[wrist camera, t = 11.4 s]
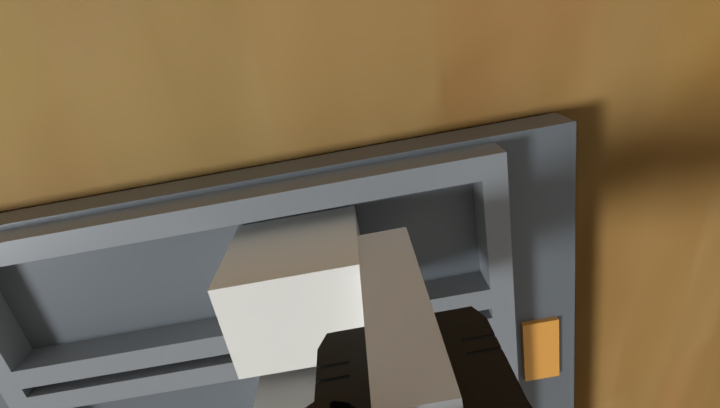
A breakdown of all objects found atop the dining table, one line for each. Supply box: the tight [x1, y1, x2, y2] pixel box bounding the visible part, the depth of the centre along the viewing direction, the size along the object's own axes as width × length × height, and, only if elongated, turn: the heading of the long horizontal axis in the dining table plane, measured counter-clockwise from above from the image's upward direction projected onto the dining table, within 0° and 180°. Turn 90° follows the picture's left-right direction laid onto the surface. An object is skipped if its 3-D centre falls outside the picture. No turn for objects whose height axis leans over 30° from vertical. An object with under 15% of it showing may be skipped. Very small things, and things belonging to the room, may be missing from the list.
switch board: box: [0, 113, 576, 408], centre depth 19 cm, size 18×24×3 cm
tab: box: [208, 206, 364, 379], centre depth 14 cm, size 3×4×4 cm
